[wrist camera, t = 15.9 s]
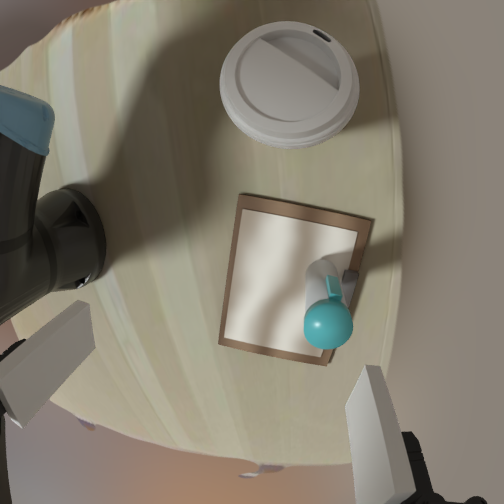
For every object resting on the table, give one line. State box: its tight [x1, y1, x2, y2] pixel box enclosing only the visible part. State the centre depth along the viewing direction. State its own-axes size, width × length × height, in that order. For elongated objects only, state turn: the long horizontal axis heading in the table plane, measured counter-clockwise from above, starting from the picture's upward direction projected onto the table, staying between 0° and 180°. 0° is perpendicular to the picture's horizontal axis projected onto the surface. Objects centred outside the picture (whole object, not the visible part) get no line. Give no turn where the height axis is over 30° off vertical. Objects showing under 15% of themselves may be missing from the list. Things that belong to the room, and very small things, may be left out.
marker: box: [304, 260, 353, 349], centre depth 27 cm, size 4×4×13 cm
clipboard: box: [218, 194, 371, 366], centre depth 35 cm, size 15×20×2 cm
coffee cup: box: [220, 21, 360, 149], centre depth 22 cm, size 10×10×15 cm
